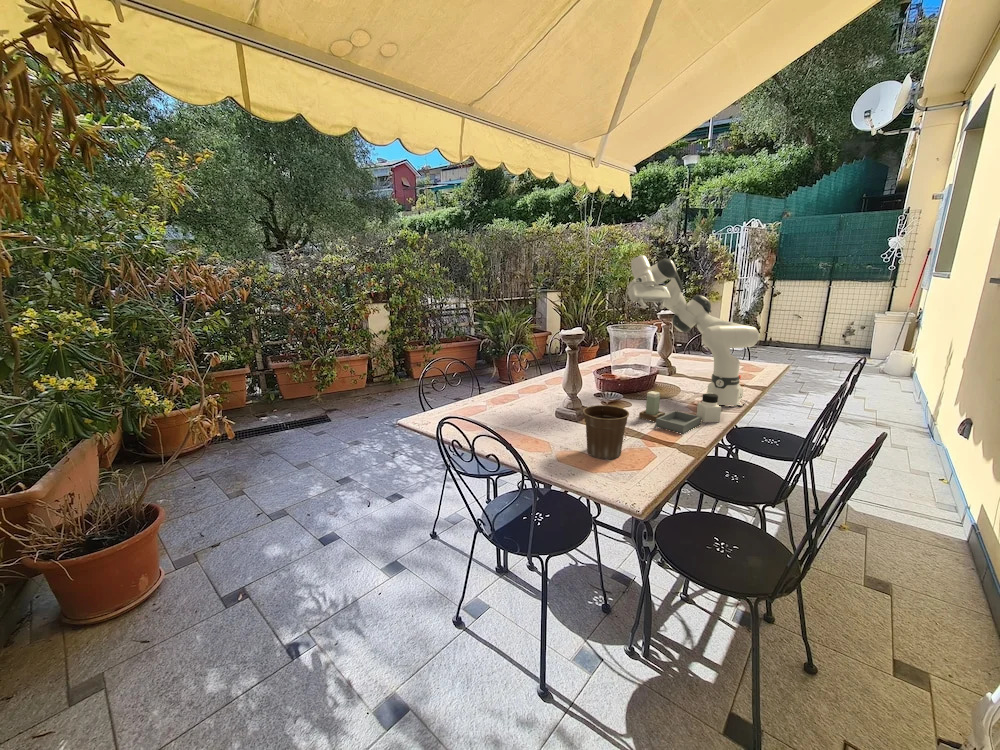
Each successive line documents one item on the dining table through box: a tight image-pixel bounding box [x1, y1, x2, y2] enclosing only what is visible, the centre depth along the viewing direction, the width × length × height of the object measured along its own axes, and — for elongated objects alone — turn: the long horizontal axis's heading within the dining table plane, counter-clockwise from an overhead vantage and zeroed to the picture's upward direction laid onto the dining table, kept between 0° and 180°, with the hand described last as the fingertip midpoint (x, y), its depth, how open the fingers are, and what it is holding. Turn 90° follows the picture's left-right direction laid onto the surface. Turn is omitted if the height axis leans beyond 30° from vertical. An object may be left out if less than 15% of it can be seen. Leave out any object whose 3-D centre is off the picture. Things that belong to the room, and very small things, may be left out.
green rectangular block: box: [645, 390, 661, 416], centre depth 187 cm, size 4×4×12 cm
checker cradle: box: [638, 409, 666, 423], centre depth 188 cm, size 8×8×3 cm
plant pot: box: [582, 404, 630, 460], centre depth 151 cm, size 16×16×16 cm
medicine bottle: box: [696, 392, 722, 423], centre depth 183 cm, size 7×7×12 cm
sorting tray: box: [655, 409, 702, 435], centre depth 177 cm, size 16×12×4 cm
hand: (653, 307), depth 193 cm, fingers open, 8 cm apart
